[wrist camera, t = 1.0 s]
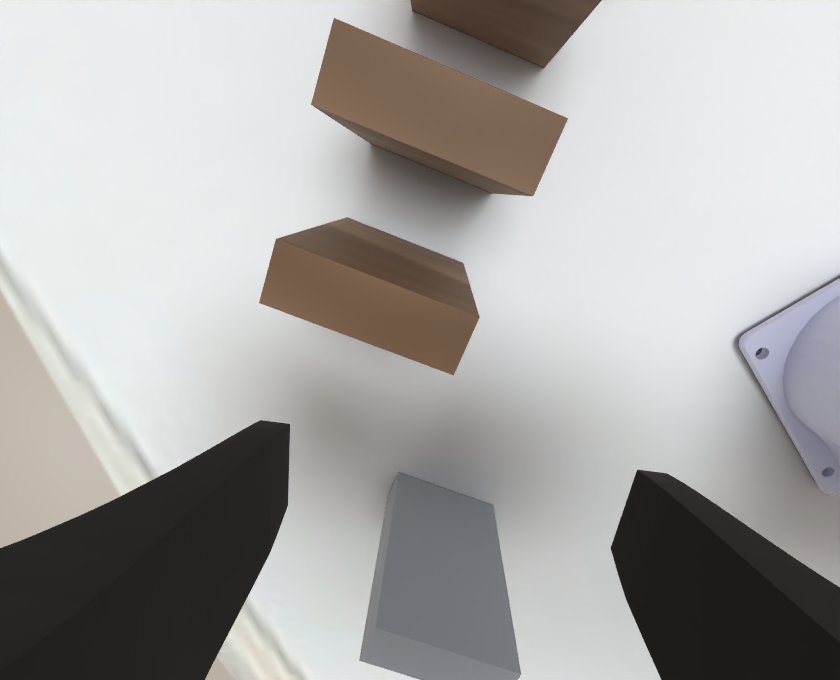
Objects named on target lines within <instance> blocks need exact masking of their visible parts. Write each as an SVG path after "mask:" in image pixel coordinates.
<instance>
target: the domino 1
mask: <svg viewBox="0 0 840 680" xmlns="http://www.w3.org/2000/svg"><path fill="white" fill-rule="evenodd" d="M600 1H601V0H411V5H412V11H415V12H417V13H419V14H422V15H424V16H426V17H428V18H431V19H433V20H435V21H438V22H440V23H442V24H444V25H447V26H449V27H451V28H454V29H456V30H458V31H460V32H463V33H465V34H467V35H470V36H472V37H474V38H476V39H479V40H481V41H483V42H486V43H488V44H490V45H492V46H495V47H497V48H499V49H502V50H504V51H506V52H509V53H511V54H513V55H515V56H518V57H520V58H522V59H525V60H527V61H529V62H531V63H534V64H536V65H538V66H541V67H543V68H545V66H546V65H547V64H548V63H549V62H550V61H551V59H552V58H553V57H554V56H555V55H556V53H557V52H558V51H559V50H560V49H561V48H562V46H563V45H564V44H565V43H566V42H567V40H568V39H569V38H570V37H571V36H572V35H573V33H574V32H575V31H576V30H577V29H578V27H579V26H580V25H581V24H582V23H583V22H584V20H585V19H586V18H587V17H588V16H589V14H590V13H591V12H592V11H593V10H594V9H595V7H596V6H597V5H598V4H599V3H600Z"/></svg>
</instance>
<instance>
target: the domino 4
mask: <svg viewBox="0 0 840 680" xmlns="http://www.w3.org/2000/svg"><path fill="white" fill-rule="evenodd" d="M359 661H363V662H366V663H369V664H372V665H375V666H379V667H382V668H385V669H388V670H391V671H395V672H398V673H401V674H404V675H407V676H411V677H414V678H417V679H420V680H517V679H518V678H519V677H520V675H521V671H520V665H519V659H518V653H517V647H516V641H515V635H514V629H513V623H512V617H511V611H510V605H509V599H508V593H507V587H506V581H505V575H504V569H503V563H502V557H501V551H500V545H499V538H498V532H497V526H496V520H495V514H494V508H493V505H491V504H488V503H485V502H482V501H480V500H477V499H474V498H471V497H468V496H465V495H462V494H460V493H457V492H454V491H451V490H448V489H445V488H442V487H440V486H437V485H434V484H431V483H428V482H425V481H422V480H420V479H417V478H414V477H411V476H408V475H405V474H402V473H400V472H398V474H397V477H396V479H395V481H394V484H393V486H392V488H391V490H390V493H389V495H388V498H387V503H386V509H385V515H384V521H383V527H382V532H381V538H380V544H379V550H378V555H377V561H376V567H375V573H374V579H373V584H372V590H371V596H370V602H369V608H368V613H367V619H366V625H365V631H364V636H363V642H362V648H361V654H360V660H359Z"/></svg>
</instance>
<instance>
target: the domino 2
mask: <svg viewBox="0 0 840 680" xmlns="http://www.w3.org/2000/svg"><path fill="white" fill-rule="evenodd" d="M311 105H312V106H314V107H316V108H317V109H319V110H320V111H322V112H323V113H325V114H326V115H328V116H329V117H331V118H332V119H334V120H335V121H337V122H338V123H340V124H341V125H343V126H345V127H346V128H348V129H349V130H351V131H352V132H354V133H355V134H357V135H358V136H360V137H361V138H363V139H364V140H366V141H367V142H369V143H370V144H373V145H375V146H378V147H380V148H383V149H385V150H388V151H390V152H392V153H395V154H397V155H400V156H402V157H405V158H407V159H410V160H412V161H414V162H417V163H419V164H422V165H424V166H427V167H429V168H431V169H434V170H436V171H439V172H441V173H444V174H446V175H449V176H451V177H453V178H456V179H458V180H461V181H463V182H466V183H468V184H471V185H473V186H475V187H478V188H480V189H483V190H485V191H488V192H490V193H495V194H509V195H524V196H533V195H534V193H535V191H536V189H537V187H538V184H539V182H540V180H541V178H542V175H543V173H544V171H545V169H546V166H547V164H548V162H549V160H550V157H551V155H552V153H553V151H554V148H555V146H556V144H557V142H558V140H559V137H560V135H561V133H562V131H563V128H564V126H565V124H566V122H567V119H568V118H566V117H563V116H561V115H559V114H556V113H554V112H552V111H549V110H547V109H545V108H542V107H540V106H538V105H535V104H533V103H531V102H528V101H526V100H524V99H521V98H519V97H517V96H514V95H512V94H510V93H507V92H505V91H503V90H500V89H498V88H496V87H493V86H491V85H489V84H486V83H484V82H482V81H480V80H477V79H475V78H473V77H470V76H468V75H466V74H463V73H461V72H459V71H456V70H454V69H452V68H449V67H447V66H445V65H442V64H440V63H438V62H435V61H433V60H431V59H428V58H426V57H424V56H421V55H419V54H417V53H414V52H412V51H410V50H407V49H405V48H403V47H400V46H398V45H396V44H393V43H391V42H389V41H386V40H384V39H382V38H379V37H377V36H375V35H372V34H370V33H368V32H365V31H363V30H361V29H358V28H356V27H354V26H351V25H349V24H347V23H344V22H342V21H340V20H337V19H335V18H334V20H333V24H332V27H331V31H330V35H329V39H328V43H327V46H326V50H325V54H324V58H323V62H322V65H321V69H320V73H319V77H318V81H317V84H316V88H315V92H314V96H313V99H312V103H311Z"/></svg>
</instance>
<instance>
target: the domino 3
mask: <svg viewBox="0 0 840 680" xmlns="http://www.w3.org/2000/svg"><path fill="white" fill-rule="evenodd" d="M259 303H261V304H264V305H266V306H269V307H272V308H274V309H277V310H280V311H282V312H285V313H288V314H291V315H293V316H296V317H299V318H301V319H304V320H307V321H309V322H312V323H315V324H317V325H320V326H323V327H325V328H328V329H331V330H334V331H336V332H339V333H342V334H344V335H347V336H350V337H352V338H355V339H358V340H360V341H363V342H366V343H368V344H371V345H374V346H377V347H379V348H382V349H385V350H387V351H390V352H393V353H395V354H398V355H401V356H403V357H406V358H409V359H411V360H414V361H417V362H420V363H422V364H425V365H428V366H430V367H433V368H436V369H438V370H441V371H444V372H446V373H449V374H452V375H454V373H455V371H456V369H457V366H458V364H459V362H460V360H461V357H462V355H463V353H464V351H465V348H466V346H467V344H468V342H469V340H470V337H471V335H472V333H473V331H474V328H475V326H476V324H477V322H478V319H479V314H478V311H477V307H476V304H475V301H474V297H473V294H472V291H471V288H470V284H469V281H468V278H467V274H466V271H465V268H464V264H463V263H462V262H459V261H457V260H454V259H452V258H449V257H446V256H444V255H441V254H439V253H436V252H434V251H431V250H429V249H426V248H424V247H421V246H419V245H416V244H413V243H411V242H408V241H406V240H403V239H401V238H398V237H396V236H393V235H391V234H388V233H386V232H383V231H380V230H378V229H375V228H373V227H370V226H368V225H365V224H363V223H360V222H358V221H355V220H353V219H350V218H344V219H341V220H337V221H334V222H331V223H327V224H324V225H321V226H317V227H314V228H311V229H308V230H304V231H301V232H298V233H294V234H291V235H288V236H284V237H281V238H278V239H276V241H275V245H274V249H273V252H272V256H271V260H270V264H269V268H268V271H267V275H266V279H265V283H264V287H263V290H262V294H261V298H260V302H259Z"/></svg>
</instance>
